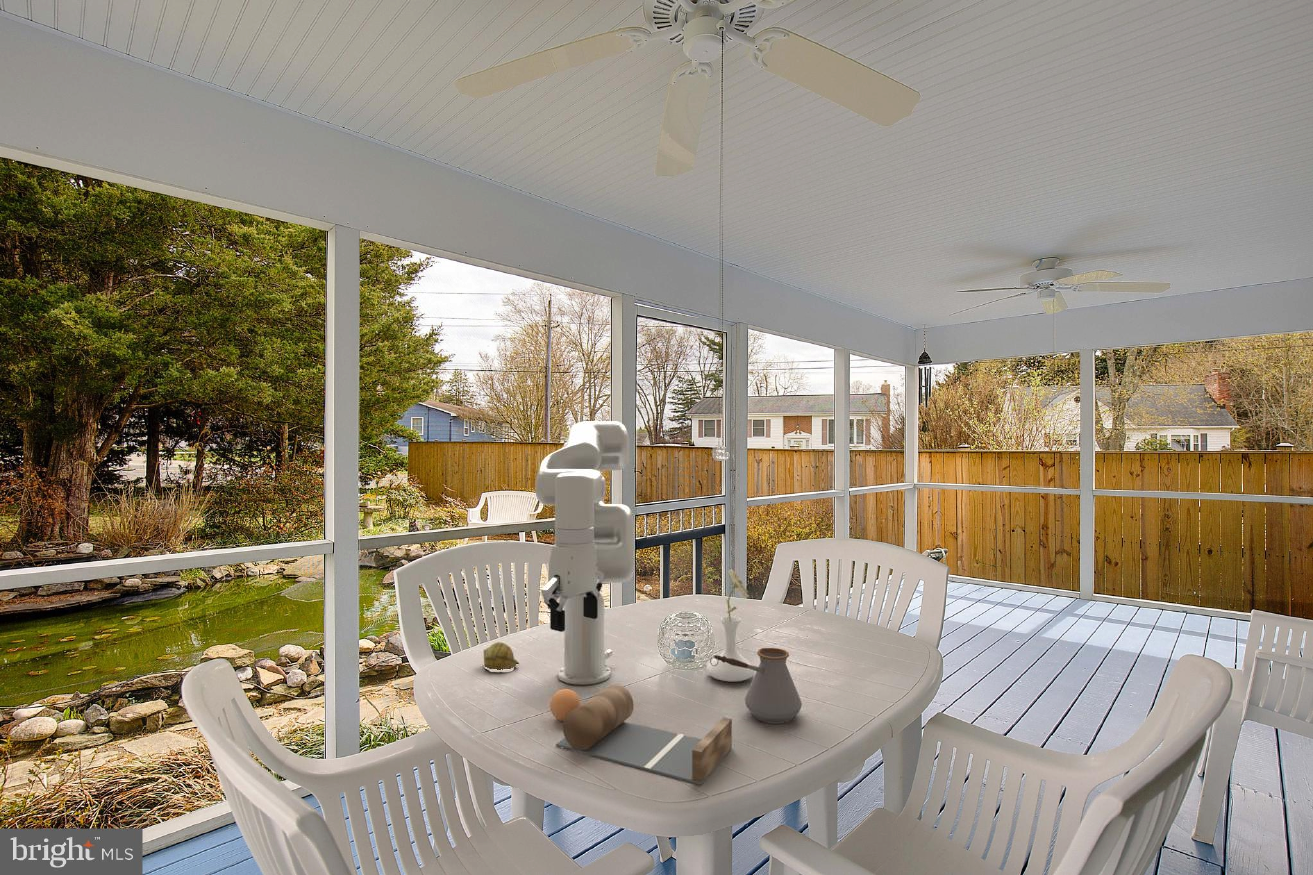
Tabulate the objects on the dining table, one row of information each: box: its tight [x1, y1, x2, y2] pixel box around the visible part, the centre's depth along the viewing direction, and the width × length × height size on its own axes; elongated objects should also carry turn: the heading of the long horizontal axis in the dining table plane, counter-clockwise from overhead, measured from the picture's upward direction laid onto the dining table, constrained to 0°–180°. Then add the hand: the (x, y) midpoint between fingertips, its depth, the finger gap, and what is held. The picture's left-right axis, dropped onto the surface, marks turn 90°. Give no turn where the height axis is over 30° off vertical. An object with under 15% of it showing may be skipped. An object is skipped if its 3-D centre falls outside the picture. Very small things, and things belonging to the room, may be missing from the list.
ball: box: [549, 688, 581, 722], centre depth 130 cm, size 6×6×6 cm
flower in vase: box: [706, 568, 756, 683], centre depth 154 cm, size 13×11×25 cm
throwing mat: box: [555, 721, 733, 786], centre depth 119 cm, size 14×29×1 cm, turn 63°
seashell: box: [483, 641, 520, 670], centre depth 160 cm, size 10×7×8 cm
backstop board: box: [692, 716, 733, 782], centre depth 112 cm, size 14×2×5 cm, turn 153°
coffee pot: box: [709, 647, 803, 724], centre depth 130 cm, size 21×12×15 cm, turn 123°
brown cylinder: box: [562, 684, 634, 751], centre depth 123 cm, size 14×7×7 cm, turn 153°
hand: (574, 623), depth 126 cm, fingers open, 9 cm apart
